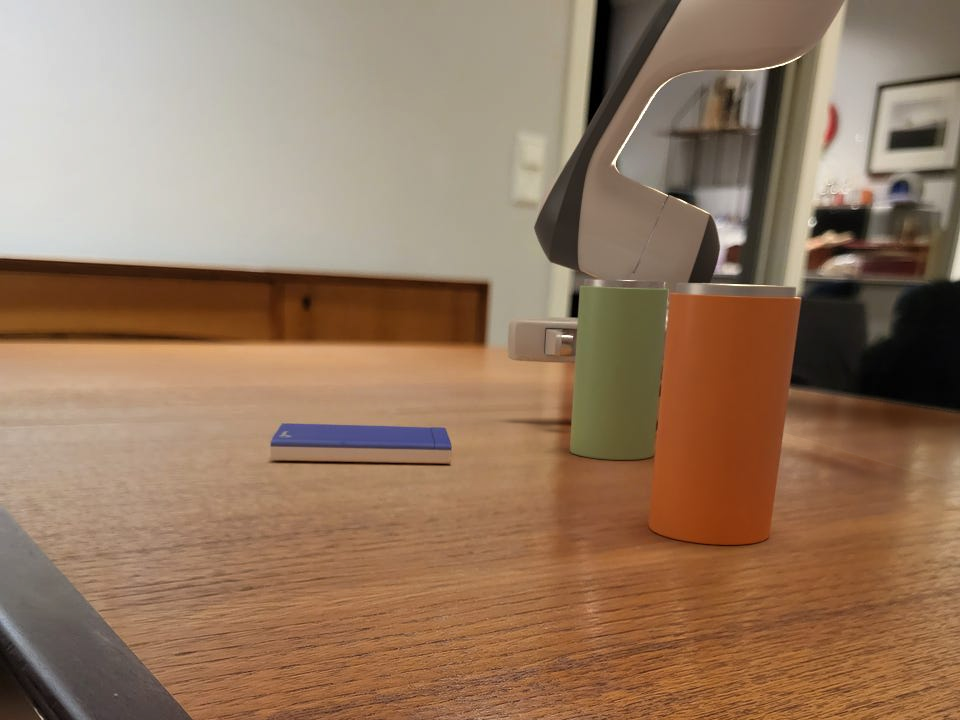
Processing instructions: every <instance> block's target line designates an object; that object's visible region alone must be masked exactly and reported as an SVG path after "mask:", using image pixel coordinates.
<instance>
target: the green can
mask: <svg viewBox="0 0 960 720" xmlns="http://www.w3.org/2000/svg"><path fill="white" fill-rule="evenodd" d="M668 291H669V290H668V289H665V281H641V280H611V279H598V278H584V281H583V285H580V286H579V295H578V296H579V297H578V310H577V318H578V326H577V342H576V358H575V363H574V375H573V389H572V391H573V393H572V405H571V406H572V407H571V421H570V422H571V425H570V441H569V452H570V453H572V454H573V455H576V456H579V457H584V458H589V459H597V460H606V461H607V460H608V461H609V460H610V461H638V460H639V461H640V460H646V459H649V458H653V456H654V455H655V445H656V434H657V423H658V412H659V401H660V391H661V380H660V379H661V368H662V357H663V346H664V335H665V324H666V313H667V302H668Z"/></svg>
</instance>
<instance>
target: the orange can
mask: <svg viewBox="0 0 960 720" xmlns="http://www.w3.org/2000/svg"><path fill="white" fill-rule="evenodd" d="M796 293H797V286H787V285H765V284H764V285H761V284H760V285H758V284H732V283H710V284H706V283H677V287H676V293H670V298H669V308H668V319H667V330H666V341H665V352H664V363H663V374H662V380H661V384H660V394H659V405H658V416H657V427H656V438H655V449H654V462H653V472H652V483H651V493H650V494H651V496H650V504H649V517H648V528H649V530H651V531H652V532H654V533H656V534H658V535H660V536H662V537H665V538H669V539H673V540H678V541H682V542H687V543H694V544H695V543H696V544H701V545H702V544H703V545H715V546H716V545H717V546H739V545H740V546H741V545H751V544H756V543H761V542H764V541H766V540H768V538H769V537H770V535H771V527H772V519H773V512H774V505H775V497H776V491H777V483H778V475H779V467H780V462H781V461H780V460H781V452H782V447H783V446H782V445H783V438H784V431H785V423H786V416H787V409H788V408H787V407H788V401H789V394H790V387H791V379H792V371H793V366H794V365H793V363H794V356H795V350H796V349H795V348H796V341H797V335H798V326H799V319H800V313H801V312H800V311H801V306H802V297H798V296H796Z"/></svg>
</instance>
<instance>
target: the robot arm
mask: <svg viewBox="0 0 960 720" xmlns="http://www.w3.org/2000/svg"><path fill="white" fill-rule="evenodd" d="M845 1H846V0H662V1H661V3H660V4H659V5H658V7H657V8H656V9H655V10H654V12H653V14H652V15H651V17H650V18H649V20H648V22H647V23H646V25H645V27H644V28H643V29H642V32H641V34H640V35H639V37H638V39H637V40H636V42H635V44H634V45H633V46H632V49H631V50H630V52H629V53H628V54H627V55H628V56H627V57H626V58H625V60H624V62H623V64H622V66H621V68H620V69H619V71H618V72H617V74H616V76H615V78H614V80H613V82H612V83H611V85H610V87H609V88H608V91H606V94H605V95H604V97H603V99H602V101H601V103H600V104H599V105H598V106H599V107H598V108H597V110H596V112H595V113H594V115H593V116H592V119H591V120H590V122H589V124H588V126H587V127H586V129H585V130H584V133H583V135H582V136H581V138H580V139H579V142H578V143H577V145H576V146H575V148H574V150H573V151H572V153H571V155H570V157H569V158H568V159H567V161H566V162H565V163H564V164H563V165H562V167H561V168H560V169H559V170H558V172H557V173H556V174H555V176H554V177H553V178H552V180H551V181H550V183H549V184H548V185H547V188H546V189H545V191H544V192H543V195H542V197H541V199H540V201H539V203H538V207H537V211H536V213H535V221H534V222H535V223H534V226H533V230H534V233H535V235H536V238H537V241H538V243H539V245H540V247H541V249H542V251H543V253H544V255H545V256H546V258H547V260H548V261H549V263H551V264H555V265H557V266H560V267H563V268H567V269H570V270H572V271H575V272H579V273H581V272H583V273H584V274H587V275H589V276H591V277H593V278H595V279H611V280H641V281H665V289H668V290H669V291H668V302H667V313H666V324H665V335H664V346H663V357H662V368H661V379H660V381H662V374H663V363H664V352H665V341H666V330H667V319H668V308H669V298H670V293H676V287H677V283H706V284H711V281H712V279H713V276H714V274H715V271H716V267H717V264H718V260H719V256H720V251H721V241H720V237H719V230H718V226H717V223H716V221H715V219H714V217H713V215H712V214H711V213H709V212H707V211H705V210H703V209H702V208H699V207H697V206H695V205H694V204H691V203H688V202H686V201H684V200H682V199H680V198H677V197H675V196H673V195H670V194H669V195H668V194H666V193H664V192H661V191H659V190H657V189H655V188H652V187H650V186H648V185H646V184H643V183H641V182H639V181H636V180H634V179H633V178H630V177H628V176H626V175H624V174H622V173H621V172H620V171H619V170H618V168H617V167H616V162H617V159H618V157H619V155H620V154H621V153H622V150H623V148H624V147H625V145H626V143H628V141H629V139H630V137H631V135H632V134H633V132H634V131H635V129H636V127H637V125H638V124H639V122H640V120H641V119H642V118H643V115H644V114H645V112H646V111H647V109H648V107H649V105H650V104H651V102H652V100H653V99H654V98H655V96H656V94H657V93H658V92H659V90H660V89H661V88H662V87H663V86H665V84H666V83H668V82H669V81H671V80H673V79H674V78H677V77H679V76H682V75H685V74H690V73H697V72H712V71H729V72H731V71H733V72H734V71H737V72H738V71H739V72H741V71H742V72H745V71H760V70H767V69H773V68H777V67H780V66H784V65H786V64H789V63H792V62H793V61H796V60H797V59H799V58H801V57H803V56H805V55H806V54H807V53H808V52H810V51H811V50H812V49H814V48H815V47H816V46H817V45H818V44H819V43H820V42H821V41H822V39H823V38H824V36H825V35H826V33H827V32H828V30H829V29H830V27H831V25H832V24H833V22H834V20H835V18H836V17H837V15H838V14H839V12H840V10H841V9H842V6H843V5H844V3H845ZM577 326H578V317H564V316H563V317H562V316H536V315H535V316H521V317H513V318H511V319H510V320H509V324H508V332H507V356H508V358H509V359H510V360H513V361H518V362H530V363H531V362H532V363H533V362H535V363H557V364H575V358H576V342H577Z"/></svg>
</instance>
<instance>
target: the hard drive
mask: <svg viewBox="0 0 960 720" xmlns="http://www.w3.org/2000/svg"><path fill="white" fill-rule="evenodd" d="M269 443H270V446H269V449H270V460H271V461H273V462H274V461H277V462H278V461H280V462H281V461H282V462H284V461H285V462H335V463H336V462H338V463H384V464H385V463H387V464H388V463H389V464H391V463H393V464H394V463H395V464H396V463H397V464H439V465H440V464H441V465H443V464H446V465H447V464H448V465H449V464H450V465H451V464H452V451H453V450H452V449H453V448H452V442H451V439H450V436H449V433H448V431H447V428H446V427H442V426H441V427H439V426H437V427H436V426H435V427H434V426H431V427H427V426H398V425H397V426H396V425H395V426H394V425H364V424H361V425H357V424H329V423H328V424H325V423H291V422H289V423H288V422H286V423H283V422H282V423H281V424H280V425H279V426H278V428H277V429H276V431H275V432H274V434H273V436H272V437H271V439H270V442H269Z"/></svg>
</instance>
